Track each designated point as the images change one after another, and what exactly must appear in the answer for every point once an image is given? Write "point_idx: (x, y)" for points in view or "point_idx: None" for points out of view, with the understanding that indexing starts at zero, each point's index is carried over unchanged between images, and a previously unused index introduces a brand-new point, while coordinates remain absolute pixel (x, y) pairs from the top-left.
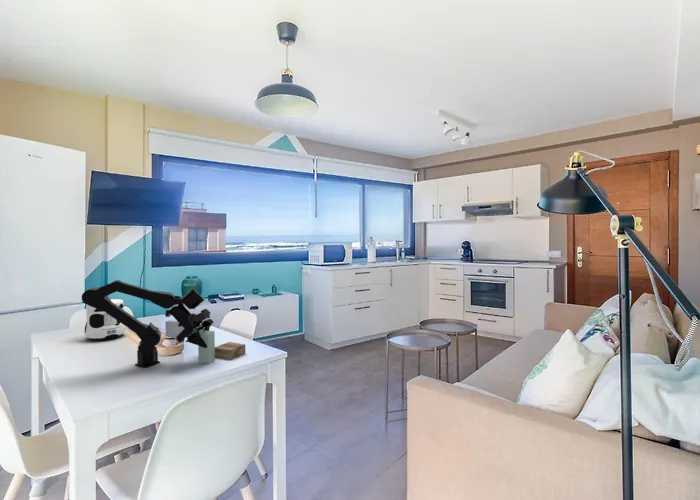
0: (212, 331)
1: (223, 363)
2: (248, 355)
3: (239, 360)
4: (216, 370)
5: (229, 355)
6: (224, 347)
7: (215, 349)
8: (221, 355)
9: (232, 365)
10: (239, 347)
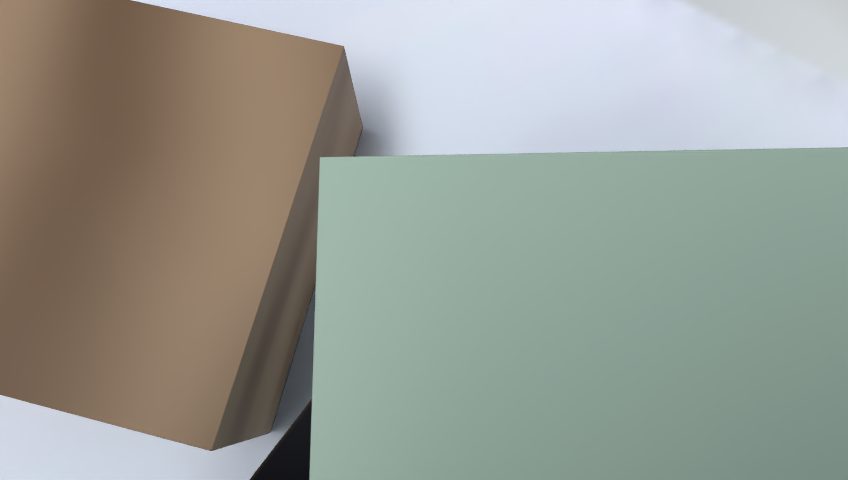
0: (473, 223)
1: (504, 153)
2: (161, 2)
3: (360, 23)
4: (746, 112)
5: (348, 118)
6: (190, 230)
7: (238, 404)
8: (305, 275)
9: (543, 21)
10: (138, 8)
